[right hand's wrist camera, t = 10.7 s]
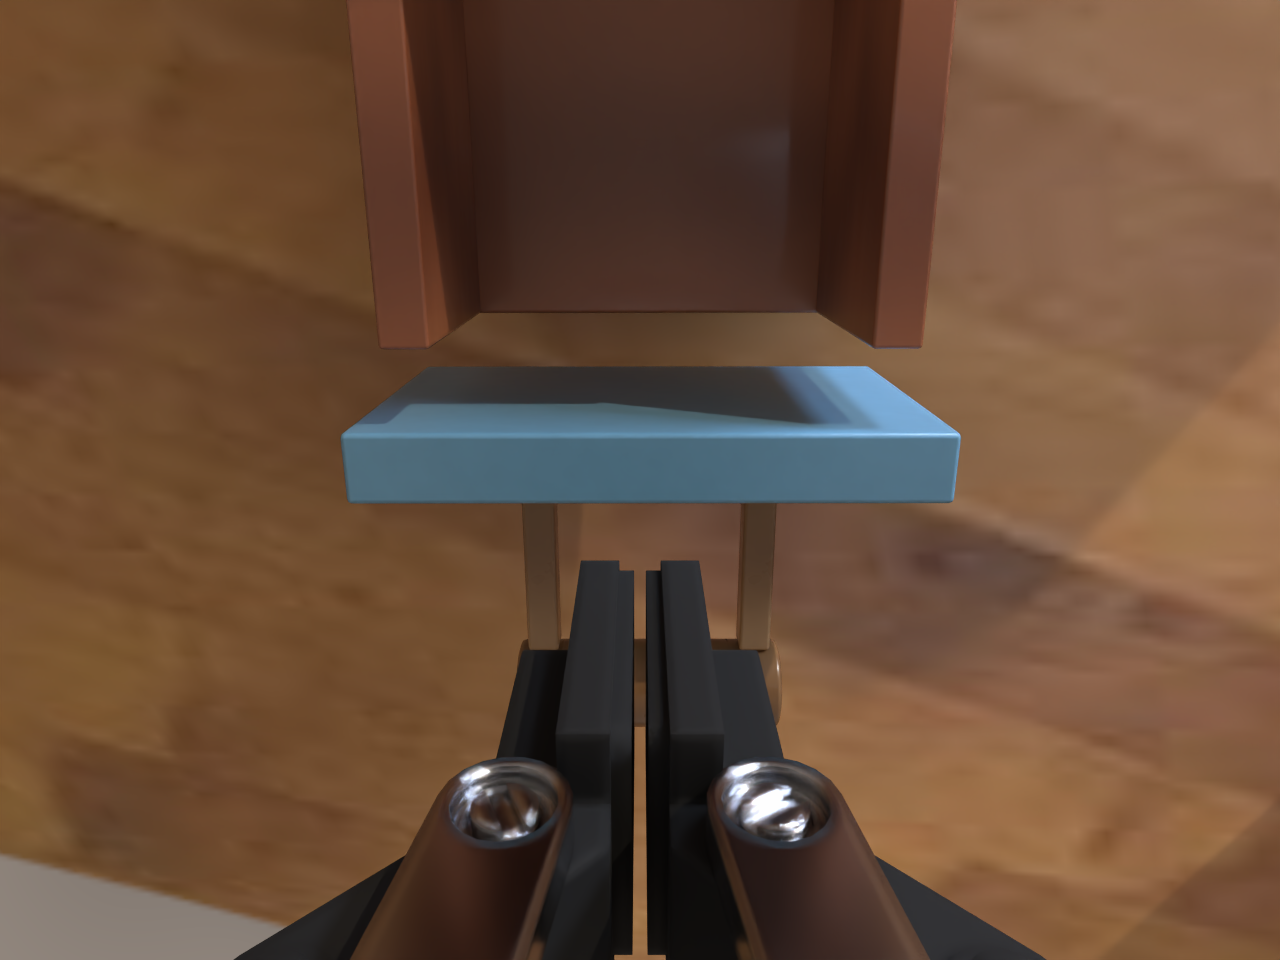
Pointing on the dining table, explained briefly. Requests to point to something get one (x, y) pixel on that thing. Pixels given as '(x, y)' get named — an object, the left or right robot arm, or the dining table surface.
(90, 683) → the dining table surface
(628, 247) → the drawer
